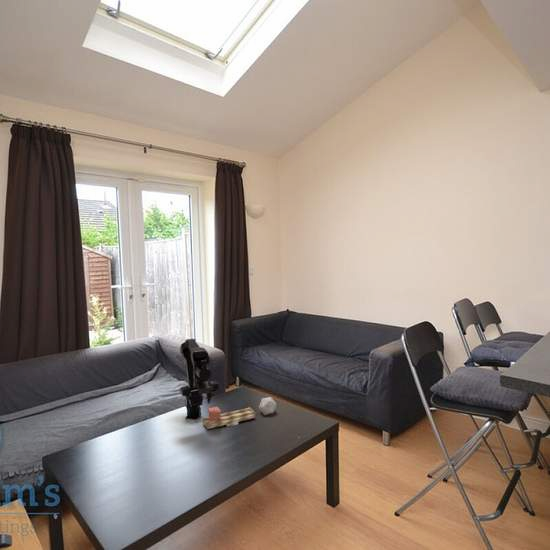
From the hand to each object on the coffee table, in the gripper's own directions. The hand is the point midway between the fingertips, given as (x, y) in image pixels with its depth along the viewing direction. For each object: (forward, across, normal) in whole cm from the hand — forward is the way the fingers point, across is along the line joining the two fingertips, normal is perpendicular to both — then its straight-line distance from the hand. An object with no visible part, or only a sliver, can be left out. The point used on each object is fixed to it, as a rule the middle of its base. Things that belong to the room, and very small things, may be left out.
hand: (200, 405), depth 179 cm
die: (+12, +37, -1) cm, 39 cm away
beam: (+12, +15, 0) cm, 19 cm away
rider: (+9, +7, 0) cm, 12 cm away
